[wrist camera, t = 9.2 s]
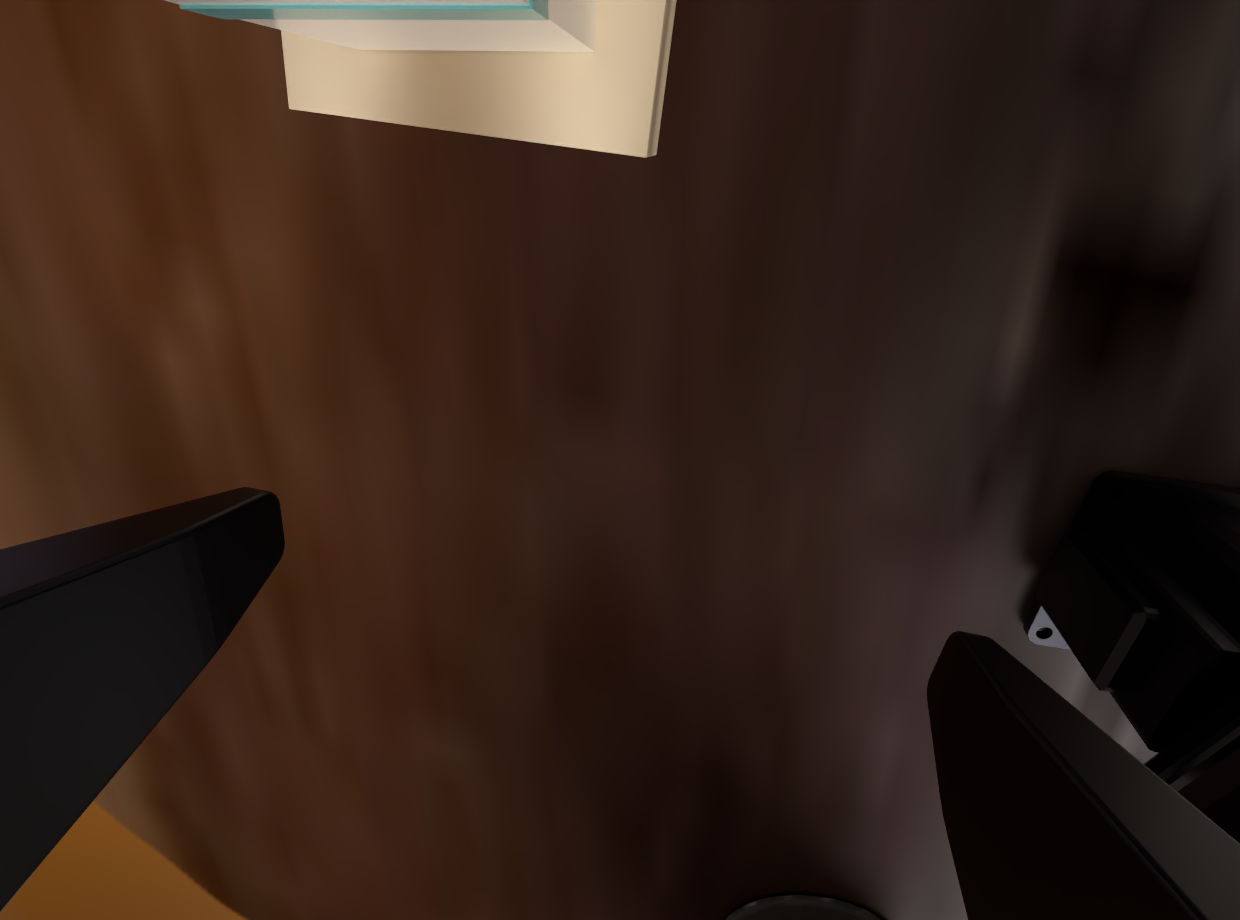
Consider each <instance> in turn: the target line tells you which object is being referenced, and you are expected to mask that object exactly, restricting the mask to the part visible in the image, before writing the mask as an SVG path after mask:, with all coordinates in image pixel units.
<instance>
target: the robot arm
mask: <svg viewBox="0 0 1240 920" xmlns="http://www.w3.org/2000/svg"><path fill="white" fill-rule="evenodd" d="M1114 485H1119V487H1118V488H1117V489H1116V490H1115V491H1113V492H1111V493H1107V491H1108V490H1109V488H1110V487H1112V486H1114ZM284 546H285V540H284V532H283V525H282V517H281V509H280V503H279V500H278V498H277V496H276V495H275V494H274V493H272V492H269V491H264V490H259V489H254V488H249V487H243V488H238V489H234V490H230V491H226V492H222V493H219V494H215V495H211V496H207V497H203V498H199V499H195V500H191V501H187V502H184V503H180V504H176V505H172V506H168V507H164V508H160V509H156V510H152V511H149V512H145V513H141V514H137V515H133V516H129V517H125V518H121V519H117V520H114V521H110V522H106V523H102V524H98V525H94V526H90V527H86V528H83V529H79V530H75V531H71V532H67V533H63V534H59V535H55V536H51V537H48V538H44V539H40V540H36V541H32V542H28V543H24V544H20V545H16V546H13V547H9V548H5V549H1V550H0V912H1V910H2V909H3V907H5V906H6V904H7V903H8V902H9V901H10V900H11V898H12V897H13V896H14V895H15V894H16V892H17V891H18V890H19V889H20V888H21V886H22V885H23V884H24V883H25V882H26V880H27V879H28V878H29V877H30V876H31V874H32V873H33V872H34V871H35V870H36V868H37V867H38V866H39V865H40V864H41V862H42V861H43V860H44V859H45V858H46V856H47V855H48V854H49V853H50V852H51V850H52V849H53V848H54V847H55V846H56V844H57V843H58V842H59V841H60V840H61V838H62V837H63V836H64V835H65V834H66V833H67V831H68V830H69V829H70V828H71V827H72V825H73V824H74V823H75V822H76V821H77V819H78V818H79V817H80V816H81V815H82V813H83V812H84V811H85V810H86V809H87V807H88V806H89V805H90V804H91V803H92V801H93V800H94V799H95V798H96V797H97V795H98V794H99V793H100V792H101V791H102V790H103V788H104V787H105V786H106V785H107V784H108V782H109V781H110V780H111V779H112V778H113V776H114V775H115V774H116V773H117V772H118V770H119V769H120V768H121V767H122V766H123V764H124V763H125V762H126V761H127V760H128V758H129V757H130V756H131V755H132V754H133V752H134V751H135V750H136V749H137V748H138V746H139V745H140V744H141V743H142V742H143V740H144V739H145V738H146V737H147V736H148V734H149V733H150V732H151V731H152V730H153V729H154V727H155V726H156V725H157V724H158V723H159V721H160V720H161V719H162V718H163V717H164V715H165V714H166V713H167V712H168V711H169V709H170V708H171V707H172V706H173V705H174V703H175V702H176V701H177V700H178V699H179V697H180V696H181V695H182V694H183V693H184V691H185V690H186V689H187V688H188V687H189V685H190V684H191V683H192V682H193V681H194V679H195V678H196V677H197V676H198V675H199V673H200V672H201V671H202V670H203V669H204V667H205V666H206V665H207V664H208V663H209V661H210V660H211V659H212V658H213V656H214V655H215V654H216V652H217V651H218V650H219V649H220V647H221V646H222V644H223V643H224V642H225V640H226V639H227V637H228V636H229V635H230V633H231V632H232V630H233V629H234V627H235V626H236V624H237V623H238V621H239V620H240V619H241V617H242V616H243V614H244V613H245V611H246V610H247V608H248V607H249V605H250V604H251V602H252V601H253V599H254V598H255V596H256V595H257V594H258V592H259V591H260V589H261V588H262V586H263V585H264V583H265V582H266V580H267V579H268V577H269V576H270V574H271V573H272V571H273V570H274V569H275V567H276V566H277V564H278V563H279V561H280V559H281V557H282V555H283V551H284ZM1035 597H1036V600H1035V602H1034V604H1033V606H1032V608H1031V610H1030V612H1029V614H1028V616H1027V618H1026V620H1025V622H1024V626H1023V628H1024V631H1025V633H1026V635H1027V636H1028V638H1029V639H1030V640H1031V641H1032V642H1033V643H1036V644H1038V645H1044V646H1050V647H1056V648H1062V649H1068V650H1072V652H1073V653H1074V655H1075V656H1076V658H1077V659H1078V661H1079V662H1080V664H1081V665H1082V667H1083V668H1084V670H1085V671H1086V673H1087V674H1088V676H1089V677H1090V679H1091V680H1092V682H1093V683H1094V684H1095V686H1096V687H1097V688H1098V689H1099V690H1101V691H1107V692H1110V694H1111V695H1112V697H1113V698H1114V699H1115V701H1116V702H1117V704H1118V705H1119V707H1120V708H1121V710H1122V711H1123V712H1124V714H1125V715H1126V717H1127V718H1128V720H1129V721H1130V723H1131V724H1132V725H1133V727H1134V728H1135V730H1136V731H1137V733H1138V734H1139V736H1140V737H1141V738H1142V740H1143V741H1144V743H1145V744H1146V746H1147V747H1148V749H1149V750H1152V751H1154V752H1159V753H1158V754H1157V755H1155V756H1154V757H1153V758H1151V759H1150V760H1149V761H1147V762H1146V763H1144V764H1143V763H1141V762H1140V761H1139V760H1138V759H1137V758H1135V757H1134V756H1133V755H1132V754H1131V753H1129V752H1128V751H1127V750H1126V749H1125V748H1123V747H1122V746H1121V745H1120V744H1118V743H1117V742H1116V741H1115V740H1114V739H1112V738H1111V737H1110V736H1109V735H1108V734H1106V733H1105V732H1104V731H1103V730H1102V729H1100V728H1099V727H1098V726H1097V725H1095V724H1094V723H1093V722H1092V721H1091V720H1089V719H1088V718H1087V717H1086V716H1085V715H1083V714H1082V713H1081V712H1080V711H1079V710H1077V709H1076V708H1075V707H1074V706H1072V705H1071V704H1070V703H1069V702H1068V701H1066V700H1065V699H1064V698H1063V697H1062V696H1060V695H1059V694H1058V693H1057V692H1056V691H1054V690H1053V689H1052V688H1051V687H1049V686H1048V685H1047V684H1046V683H1045V682H1043V681H1042V680H1041V679H1040V678H1039V677H1037V676H1036V675H1035V674H1034V673H1033V672H1031V671H1030V670H1029V669H1028V668H1027V667H1025V666H1024V665H1023V664H1022V663H1020V662H1019V661H1018V660H1017V659H1016V658H1014V657H1013V656H1012V655H1011V654H1010V653H1008V652H1007V651H1006V650H1005V649H1004V648H1002V647H1001V646H1000V645H999V644H997V643H996V642H995V641H994V640H992V639H991V638H989V637H986V636H982V635H977V634H972V633H967V632H962V631H957V632H954V633H952V634H951V635H950V636H949V638H948V639H947V641H946V643H945V645H944V647H943V650H942V652H941V654H940V656H939V658H938V660H937V663H936V665H935V667H934V669H933V671H932V673H931V676H930V678H929V682H928V687H927V701H928V708H929V716H930V724H931V731H932V739H933V747H934V754H935V762H936V769H937V777H938V785H939V792H940V799H941V805H942V811H943V817H944V822H945V826H946V831H947V835H948V839H949V843H950V847H951V852H952V856H953V860H954V864H955V868H956V872H957V876H958V880H959V884H960V888H961V892H962V896H963V900H964V904H965V908H966V912H967V916H968V920H1240V489H1238V488H1231V487H1224V486H1217V485H1210V484H1203V483H1196V482H1189V481H1182V480H1175V479H1168V478H1161V477H1155V476H1148V475H1141V474H1134V473H1127V472H1120V471H1109V472H1106V473H1103V474H1101V475H1100V476H1098V477H1097V478H1096V479H1095V480H1094V482H1093V483H1092V485H1091V487H1090V489H1089V491H1088V493H1087V495H1086V497H1085V499H1084V501H1083V503H1082V505H1081V508H1080V510H1079V512H1078V514H1077V516H1076V518H1075V520H1074V522H1073V524H1072V526H1071V528H1070V530H1069V532H1068V533H1066V534H1065V535H1064V536H1063V538H1062V540H1061V542H1060V544H1059V547H1058V549H1057V551H1056V553H1055V555H1054V557H1053V559H1052V561H1051V563H1050V565H1049V567H1048V569H1047V571H1046V573H1045V575H1044V577H1043V579H1042V582H1041V584H1040V586H1039V588H1038V590H1037V592H1036V594H1035ZM1043 627H1047V628H1046V629H1045V630H1042V631H1038V630H1039V629H1041V628H1043Z"/></svg>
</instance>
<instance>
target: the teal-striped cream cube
mask: <svg viewBox="0 0 1240 920" xmlns="http://www.w3.org/2000/svg"><path fill="white" fill-rule="evenodd" d="M165 1H169V2H173V3H177V4H179V6H180V9H183V10H188V11H192V12H196V13H200V14H204V15H208V16H212V17H216V18H220V19H240V20H244V21H248V22H252V23H256V24H260V25H264V26H268V27H272V28H276V29H280V30H284V31H288V32H291V33H295V34H299V35H303V36H307V37H311V38H315V39H319V40H323V41H327V42H331V43H335V44H339V45H343V46H347V47H351V48H355V49H359V50H440V51H547V52H595V0H165Z"/></svg>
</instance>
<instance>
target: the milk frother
mask: <svg viewBox="0 0 1240 920" xmlns="http://www.w3.org/2000/svg"><path fill="white" fill-rule="evenodd" d="M725 920H881V919H879V918H878V917H877V916H875V915H874V914H872V913H871V912H868V911H867V910H865V909H862V908H860V907H857V906H855V905H853V904H850V903H847V902H843V901H840V900H836V899H832V898H822V897H817V896H806V895H786V896H775V897H769V898H765V899H760V900H757V901H755V902H750V903H748V904H746V905H744V906H743V907H741V908H740V909H737V910H736V911H735V912H733V913H732V914H730V915H729V916H728V917H727V918H726V919H725Z"/></svg>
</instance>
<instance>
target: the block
mask: <svg viewBox="0 0 1240 920" xmlns="http://www.w3.org/2000/svg"><path fill="white" fill-rule="evenodd" d="M675 7H676V0H595V52H547V51H440V50H359V49H355V48H351V47H347V46H343V45H339V44H335V43H331V42H327V41H323V40H319V39H315V38H311V37H307V36H303V35H299V34H295V33H291V32H288V31H284V30H281V34H282V44H283V54H284V63H285V73H286V83H287V93H288V102H289V109H294V110H301V111H309V112H316V113H323V114H331V115H338V116H345V117H352V118H360V119H367V120H374V121H382V122H389V123H396V124H404V125H411V126H418V127H426V128H433V129H440V130H448V131H455V132H462V133H470V134H477V135H484V136H492V137H499V138H506V139H514V140H521V141H528V142H536V143H543V144H550V145H558V146H565V147H572V148H580V149H587V150H594V151H602V152H609V153H616V154H623V155H631V156H638V157H645V158H647V157H650V156H654V155H656V153H657V145H658V138H659V130H660V122H661V115H662V107H663V99H664V92H665V84H666V76H667V68H668V61H669V53H670V45H671V38H672V30H673V22H674V15H675Z"/></svg>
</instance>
